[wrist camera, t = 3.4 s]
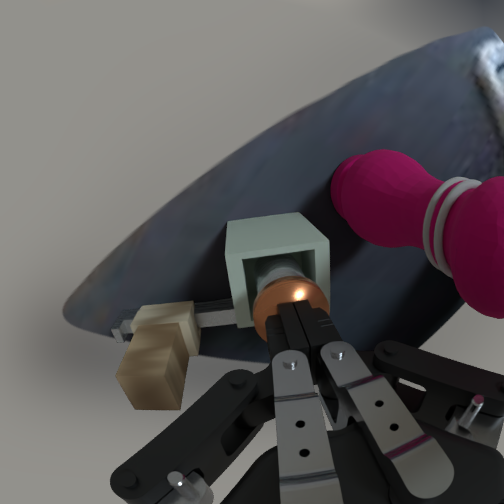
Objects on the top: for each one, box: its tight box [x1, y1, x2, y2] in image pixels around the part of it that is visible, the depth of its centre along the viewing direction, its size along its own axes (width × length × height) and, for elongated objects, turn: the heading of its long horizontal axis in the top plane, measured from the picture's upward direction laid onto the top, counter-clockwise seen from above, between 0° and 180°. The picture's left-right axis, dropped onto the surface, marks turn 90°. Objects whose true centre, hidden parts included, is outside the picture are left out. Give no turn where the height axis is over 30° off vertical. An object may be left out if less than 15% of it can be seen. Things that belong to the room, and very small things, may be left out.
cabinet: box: [225, 212, 330, 328], centre depth 20 cm, size 6×5×8 cm
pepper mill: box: [331, 149, 504, 319], centre depth 13 cm, size 7×7×20 cm
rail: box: [111, 298, 237, 343], centre depth 24 cm, size 18×2×4 cm, turn 97°
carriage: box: [115, 301, 201, 410], centre depth 20 cm, size 5×4×10 cm
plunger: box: [253, 253, 329, 342], centre depth 16 cm, size 4×4×6 cm
